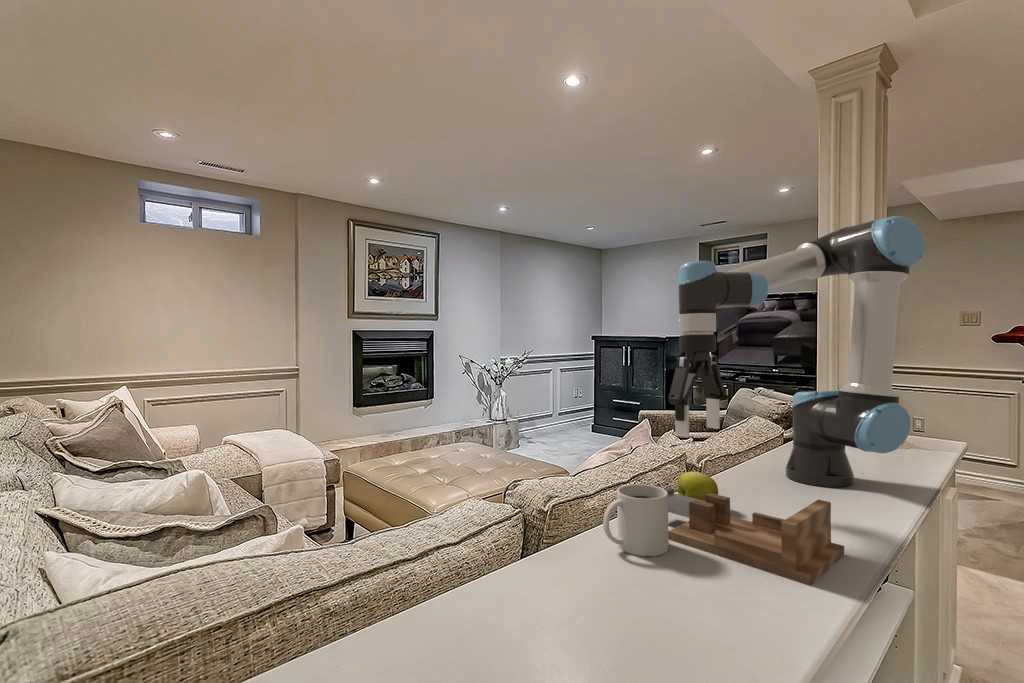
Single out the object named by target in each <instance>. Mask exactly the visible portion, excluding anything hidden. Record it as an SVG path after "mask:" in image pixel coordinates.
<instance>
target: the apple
mask: <svg viewBox="0 0 1024 683" xmlns="http://www.w3.org/2000/svg"><path fill="white" fill-rule="evenodd" d="M674 492H675V493H677V494H678V495H682V496H686V497H690V498H695V499H699V500H703V501H705V495H707V494H709V493H712V494H716V495H719V488H718V484H717V482H716V481H715V480H714V479H713V478H712V477H710V476H708V475H707V474H705V473H703V472H699V471H687V472H684V473H682V474H681V475H680V476H679V478H678V480H677V483H676V488H675V490H674Z"/></svg>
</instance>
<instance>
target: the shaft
mask: <svg viewBox="0 0 1024 683" xmlns="http://www.w3.org/2000/svg"><path fill="white" fill-rule="evenodd" d="M663 489H664V490H666V491H667V493H668V513H670V514H673V515H674V514H675V515H678V516H681V517H685V518H688V519H689V502H690V501H693V500H698V501H702V502H706V503H710V504H714V503H711V502H707V501H703V500H699V499H695V498H690V497H686V496H682V495H678V493H674V492H675V490H674V488H673V487H672V488H671V487H667V488H663Z"/></svg>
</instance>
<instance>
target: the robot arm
mask: <svg viewBox="0 0 1024 683" xmlns="http://www.w3.org/2000/svg"><path fill="white" fill-rule="evenodd" d="M925 251H926V241H925V236H924V234H923V231H922V230H921V228H920V227H919V226H918V225H917V223H915V221H913V220H912V219H911V218H909V217H906V216H903V215H893V216H889V217H879V218H877V219H874V220H869V221H867V222H862V223H858V224H856V225H851V226H846V227H843V228H840V229H837V230H835V231H832V232H829V233H827V234H825V235H823V236H821V237H818V238H815V239H813V240H810V241H807V242H804V243H801V244H800V245H799V246H797V248H796V249H795V250H791V251H788V252H785V253H782V254H779V255H775V256H772V257H769V258H766V259H762V260H758V261H756V262H753V263H749V264H747V265H743V266H740V267H736V268H734V269H729V270H727V271H724V272H722V271H717V266H716V263H715V262H714V261H711V260H710V261H709V260H698V261H697V260H695V261H687V262H684V263H682V264H681V265H680V267H679V271H678V272H679V273H678V283H677V286H678V311H679V313H678V314H679V316H678V317H679V319H678V324H679V326H678V328H679V332H680V333H682V334H681V335H680V336H679V338H678V344H679V347H678V348H679V352H681V353H684V356H677V357H676V359H675V360H676V361H675V370H674V374H673V379H672V382H671V386H670V390H669V394H668V397H667V400H668V403H669V404H670V405H674V425H675V426H674V428H675V429H674V434H675V436H676V437H683V438H690V405H689V404H687V403H688V400H689V398H690V395H691V393H692V390H693V387H694V385H695V382H696V381H697V380H699V378H700V381H701V383H702V385H703V388H704V390H705V392H706V394H707V396H708V398H705V400H706V401H705V404H706V406H705V407H706V409H705V410H706V418H705V420H706V428H710V429H716V430H717V429H718V430H719V429H720V428H721V427H720V420H721V419H720V413H721V412H720V400H724V399H725V394H726V393H725V392H726V391H725V387H724V384H723V379H722V375H721V371H720V368H719V359H718V355H717V354H715V355H713V354H710V353H715V352H716V351H717V336H716V334H714V333H716V332H717V309H725V308H726V309H729V308H734V307H735V308H738V307H739V308H741V307H745V308H750V307H759V306H761V305H762V304H763V303H765V301H766V299H767V298H768V295H769V290H772V289H775V288H777V287H781V286H785V285H787V284H791V283H793V282H797V281H800V280H804V279H808V280H816V279H819V278H822V277H823V278H824V277H828V276H838V275H847V276H848V279H850V280H851V281H852V282H853V283H854V295H853V306H852V320H851V331H850V342H849V343H850V344H849V355H848V364H847V365H848V368H847V378H846V383H845V384H844V385H843V386H842V387H840V388H839V389H837V390H814V391H798V392H795V394H794V395H793V398H792V405H791V408H792V409H791V410H792V411H791V412H792V441H793V442H792V449H791V452H790V456H789V458H788V460H787V464H786V466H785V476H786V477H787V478H788V479H790V480H791V481H794V482H798V483H800V484H801V483H802V484H805V485H811V486H812V485H813V486H818V487H827V488H828V487H829V488H831V487H832V488H838V487H839V488H843V487H850V486H852V485H854V483H855V476H854V472H853V469H852V466H851V464H850V461H849V459H848V456H847V453H846V447H848V448H849V447H850V448H853V449H859V450H860V451H863V452H868V453H877V454H888V453H891V452H894V451H897V449H899V447H900V446H902V445H903V444H904V443H906V442H905V441H906V440H907V439H908V436H909V435H910V432H911V427H912V420H911V415H910V414H908V412H909V411H908V410H907V408H906V407H904V406H902V405H901V404H900V394H898V393H897V391H895V390H894V388H893V387H892V386H893V377H894V376H893V374H894V361H895V352H896V351H895V349H896V336H897V325H898V312H899V301H900V300H899V299H900V287H901V284H902V283H903V282H904V281H905V280H907V279H908V278H909V277H910V269H911V268H910V266H914V265H916V264H918V263H919V261H921V259H922V258H923V256H924V254H925Z"/></svg>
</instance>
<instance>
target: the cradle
mask: <svg viewBox="0 0 1024 683" xmlns="http://www.w3.org/2000/svg"><path fill="white" fill-rule="evenodd" d="M705 501H707V502H711V503H714V504H710V503H706V502H702V501H698V500H693V501H690V502H689V518H688V519H689V521H687V522H684V523H682V524H680V525H678V526H675V527H673V528H672V529H668V540H669V541H673V542H676V543H678V544H682V545H685V546H689V547H692V548H694V549H697V550H701V551H703V552H707V553H710V554H713V555H715V556H718V557H723V558H725V559H727V560H731V561H734V562H738V563H741V564H743V565H746V566H750V567H751V568H756V569H758V570H762V571H765V572H768V573H771V574H774V575H776V576H780V577H783V578H786V579H789V580H791V581H795V582H798V583H802V584H805V585H807V586H811V585H813V583H814V582H815V581H817V580H818V579H819V578H820V577H821V576H822V575H823V574H825V572H826V571H828V570H829V569H830V568H831V567H832V566H834V564H836V563H837V562H838V561H839V560H840V559H841V558H842V557H843V556H844V555H845V545H842V544H840V543H836V542H832V508H831V507H832V502H830V501H828V500H821V499H817V500H814V502H812V503H810V504H808V505H807V506H805V507H803V508H802V509H800V510H798V511H797V512H796V513H794V514H792V515H791V516H789V517H788V518H786V519H783V518H780V517H776V516H772V515H768V514H765V513H761V512H756V511H755V512H752V514H751V516H752V518H751V519H752V521H751V520H747V519H743V518H740V517H736V516H732V515H731V497H730V496H729V497H728V496H724V495H720V494H718V495H716V494H712V493H709V494H707V495H705Z"/></svg>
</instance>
